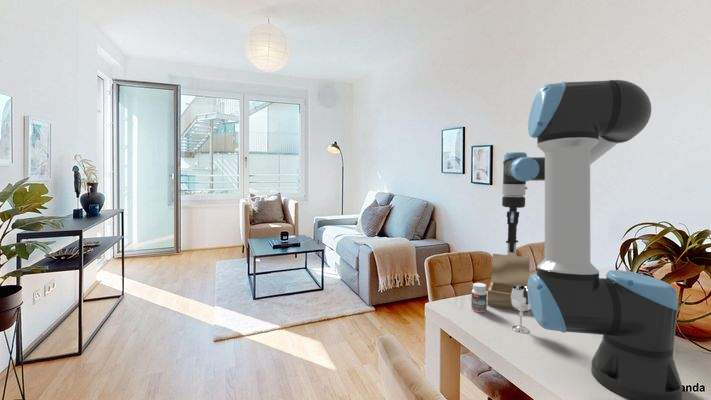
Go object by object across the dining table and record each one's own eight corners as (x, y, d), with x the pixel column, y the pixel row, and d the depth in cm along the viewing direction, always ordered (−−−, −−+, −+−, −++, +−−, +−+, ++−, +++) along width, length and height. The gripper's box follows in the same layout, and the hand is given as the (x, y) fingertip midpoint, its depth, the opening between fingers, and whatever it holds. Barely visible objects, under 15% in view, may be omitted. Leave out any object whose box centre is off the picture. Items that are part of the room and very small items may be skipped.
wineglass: (505, 328, 100) (507, 287, 99) (515, 323, 104) (516, 283, 102) (526, 336, 96) (527, 293, 94) (535, 329, 99) (537, 288, 98)
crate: (527, 311, 111) (528, 296, 111) (487, 305, 117) (487, 290, 116) (527, 301, 120) (528, 286, 120) (490, 295, 126) (491, 281, 125)
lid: (529, 257, 121) (529, 257, 122) (492, 253, 127) (493, 253, 127) (528, 286, 120) (528, 286, 120) (491, 281, 125) (491, 281, 126)
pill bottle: (471, 311, 112) (471, 286, 111) (470, 306, 116) (471, 281, 115) (487, 313, 110) (487, 287, 109) (486, 307, 115) (486, 283, 114)
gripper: (524, 197, 118) (522, 266, 120) (525, 194, 129) (523, 257, 132) (500, 197, 121) (498, 263, 124) (503, 194, 133) (501, 255, 135)
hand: (511, 260), depth 128 cm, fingers closed
